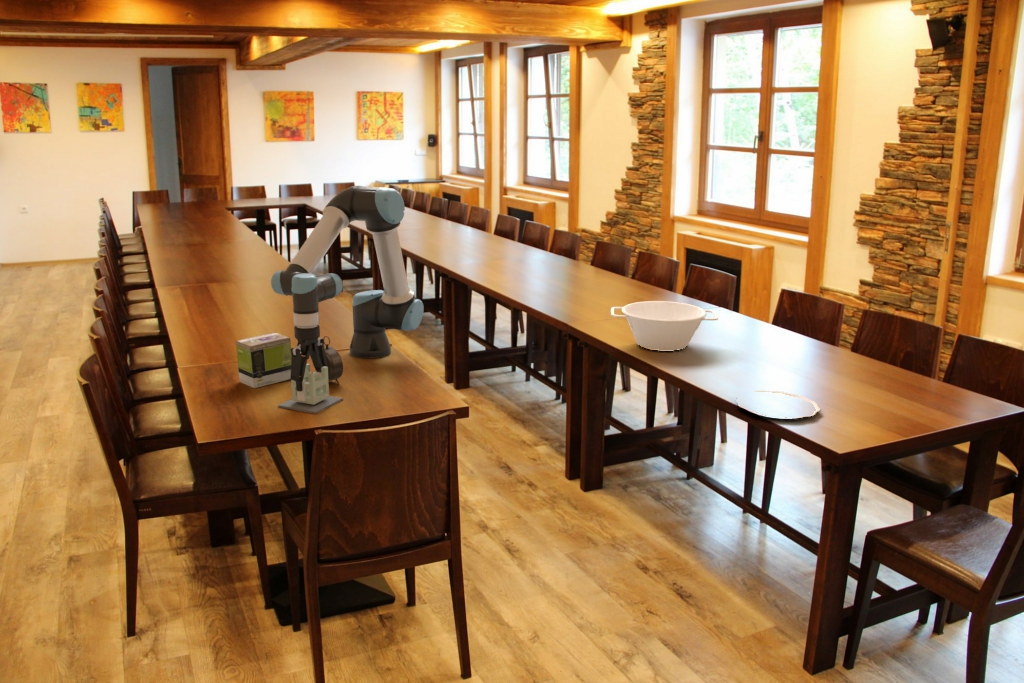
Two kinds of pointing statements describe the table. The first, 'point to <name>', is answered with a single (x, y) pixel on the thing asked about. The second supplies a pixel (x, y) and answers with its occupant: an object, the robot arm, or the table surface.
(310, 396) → the stool
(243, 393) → the table surface
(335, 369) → the alarm clock
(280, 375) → the tea box
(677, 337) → the pot
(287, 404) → the mat
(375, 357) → the robot arm
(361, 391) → the table surface
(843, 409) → the table surface
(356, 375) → the table surface
